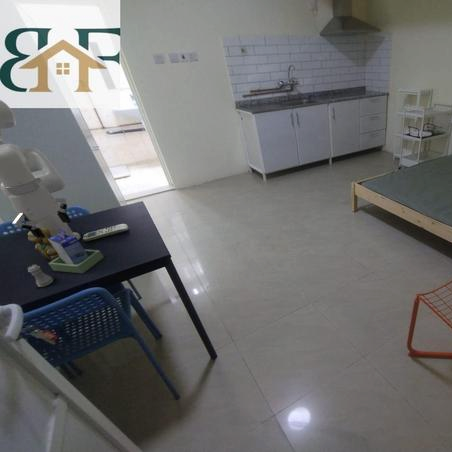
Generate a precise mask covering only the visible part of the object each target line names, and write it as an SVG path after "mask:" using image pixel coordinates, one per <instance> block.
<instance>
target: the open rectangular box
mask: <svg viewBox="0 0 452 452" xmlns="http://www.w3.org/2000/svg"><path fill="white" fill-rule="evenodd" d="M83 249H84V250H85V252H86V253H87V255H88V256H89V257H88V258H87V259H85V260H84V261H83V262H81V263H80V264H78V265H74V264H65V263H64V261H63V260H62V259H61V257H60V256H59V257H58V258H56V259H55V260H50V262H48V265H49V267H50V268H51V269H52V271H54V272H64V273H65V272H66V273H74V274H84V273H86V272H87V271H88V270H90V269H91V268H92V267H94V266H95V265H96V264H97V263H99V262H101V260H103V259H105V256H104V255H103V254H102V252H101V250H97V249H86V248H83Z"/></svg>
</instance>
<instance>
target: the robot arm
mask: <svg viewBox="0 0 452 452" xmlns="http://www.w3.org/2000/svg"><path fill="white" fill-rule="evenodd" d="M16 125H17V120H16V116H15V113H14V112H13V110H12V108H11V107H10V106H9V105H8V104H7V103H6V102H4V101H3V100H1V99H0V182H1V183H0V190H1V191H2V193H3V194H4V195H5V196H6V197H7V198H8V199H9V201H10V203H11V205H12V207H13V210H15V213H16V214H17V216H16V217H15V219H14V220H13V221H12V223H11V224H12V226H15V227H17V228H20V229H24V230H28V231H29V232H30V231H31V233H32V234H33V235H34V236H35V237H37V238H45V235H44V234H43V233H42V231H41V230H40V229H39V228H46V229H48V230H49V231H50V233H51V235H52V236H55V235H57V234H59V232H60V229H61V230H63V231H65V233H67V234H69V235H72V236H75V237H76V238H77V239H78V241H80V239H81V234H80V233H78V232H74V231H73V230H72V228H70V226H69V225H68V224H71V223H72V221H71V218H70V217H69V215H68V214H67V212H68V211H67V208H68V204H67V199H66V198H62V197H61V198H59V197H58V198H55V196H53V193H56V192H59V191H62V190H64V189H65V187H66V183H65V181H64V178H63V177H62V176H61V175H60V173H59V172H58V171H57V170H56V168H55V166H53V164H52V163H51V161H50V160H49V159H48V158H47V156H46V155H45V154H44V152H43V151H41V150H40V149H39V148H35V147H24V148H22V147H21V146H19V145H17V144H14V143H8V142H7V141H6V140H3V139H2V137H3V130H4V129H10V128H11V129H12V128H14V127H16ZM23 222H25V224H24V223H23ZM36 227H39V228H36ZM61 233H62V232H61Z"/></svg>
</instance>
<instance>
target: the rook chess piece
mask: <svg viewBox="0 0 452 452" xmlns="http://www.w3.org/2000/svg"><path fill="white" fill-rule="evenodd" d="M27 272H28V273H31V275H32V276H33V277H34V278H35V284H36V286H37V287H39V288H44V287H48V286H49V285H51V284H52V283H53V282H54V278H52V276H51V275H48V274H46V273H45V272H43V269H42V268H41V266H40V265H37V264H32V265H30V266H28V267H27Z"/></svg>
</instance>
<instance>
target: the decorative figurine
mask: <svg viewBox="0 0 452 452" xmlns="http://www.w3.org/2000/svg"><path fill="white" fill-rule="evenodd" d="M36 228H39V227H36ZM39 229H40V230H41V231H42V233H43V234H44V235H45V238H37V237H35V236H34V235H33V234H32V233H31V231H30V230H29V231H28V233H27V236H28V237H27V240H28V241H29V242H32V243H34V244H35V246H34V249H35V250H36V251H38V252H39V253H40V255H41V256H42V257H44V258H45V259H49V260H50V261H53V260H55V259H56V258H58V257H59V254H58V253H57V251H56V250H55V248H54V247H53V246H52V244H51V243H50V241H49V240H48V238H50V237H53V236H52V235H51V233H50V231H49V230H48V229H46V228H39Z"/></svg>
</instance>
